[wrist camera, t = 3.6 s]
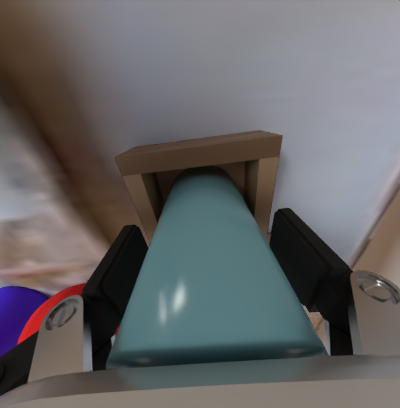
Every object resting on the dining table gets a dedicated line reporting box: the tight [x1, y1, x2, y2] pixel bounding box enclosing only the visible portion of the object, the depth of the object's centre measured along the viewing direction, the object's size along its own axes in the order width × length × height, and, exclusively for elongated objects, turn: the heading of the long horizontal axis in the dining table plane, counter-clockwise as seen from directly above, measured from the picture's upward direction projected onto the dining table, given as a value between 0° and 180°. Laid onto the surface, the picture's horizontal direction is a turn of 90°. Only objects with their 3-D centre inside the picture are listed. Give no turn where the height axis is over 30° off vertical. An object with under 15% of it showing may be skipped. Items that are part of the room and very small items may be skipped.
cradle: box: [115, 131, 282, 243], centre depth 13 cm, size 10×10×4 cm
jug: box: [105, 165, 329, 370], centre depth 10 cm, size 10×6×11 cm, turn 7°
